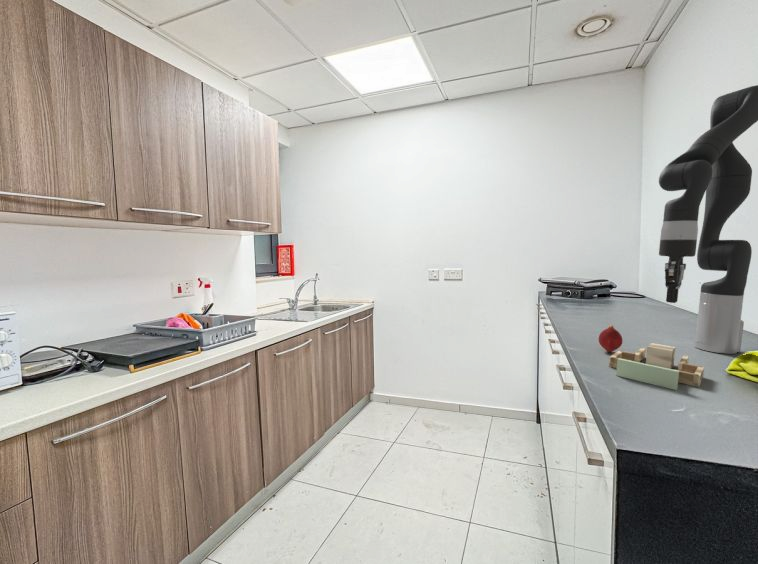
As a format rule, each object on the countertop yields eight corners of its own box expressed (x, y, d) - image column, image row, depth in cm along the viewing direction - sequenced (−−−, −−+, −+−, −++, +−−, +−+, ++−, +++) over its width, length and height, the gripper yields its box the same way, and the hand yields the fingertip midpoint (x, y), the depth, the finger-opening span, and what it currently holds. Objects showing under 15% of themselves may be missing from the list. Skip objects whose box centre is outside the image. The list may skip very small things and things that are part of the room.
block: (649, 361, 93) (651, 343, 93) (673, 365, 90) (675, 347, 89) (645, 365, 90) (647, 346, 90) (670, 370, 86) (672, 350, 86)
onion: (625, 355, 97) (627, 328, 97) (602, 354, 98) (605, 326, 98) (615, 350, 103) (617, 323, 102) (594, 348, 104) (596, 322, 103)
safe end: (617, 374, 82) (618, 358, 82) (677, 388, 74) (679, 370, 74) (616, 375, 82) (617, 359, 81) (676, 389, 74) (678, 371, 73)
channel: (625, 353, 99) (626, 345, 99) (706, 369, 87) (707, 359, 87) (602, 371, 85) (603, 361, 84) (696, 393, 72) (697, 381, 72)
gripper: (694, 237, 85) (686, 306, 87) (699, 239, 94) (692, 302, 96) (655, 237, 91) (649, 302, 93) (664, 239, 100) (658, 298, 102)
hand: (671, 302), depth 94 cm, fingers closed
